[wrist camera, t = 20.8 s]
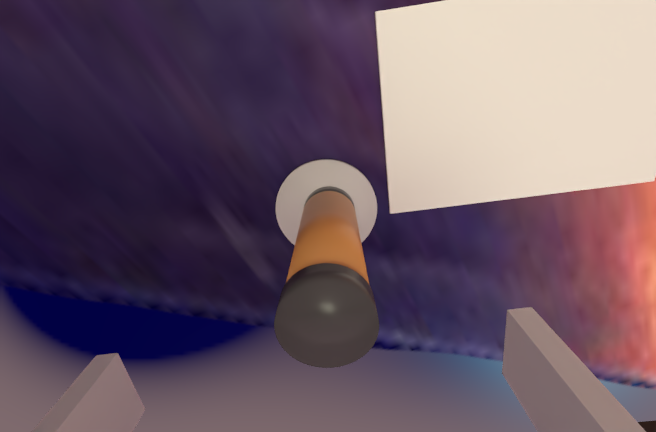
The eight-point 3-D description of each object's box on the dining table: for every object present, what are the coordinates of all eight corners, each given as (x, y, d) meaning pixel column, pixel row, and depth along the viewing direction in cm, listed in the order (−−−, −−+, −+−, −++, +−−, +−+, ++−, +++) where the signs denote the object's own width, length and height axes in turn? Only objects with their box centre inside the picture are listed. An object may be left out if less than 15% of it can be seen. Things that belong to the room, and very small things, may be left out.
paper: (389, 212, 26) (390, 213, 26) (374, 12, 21) (375, 11, 21) (649, 179, 25) (654, 181, 25) (698, -39, 20) (705, -42, 20)
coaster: (286, 257, 28) (285, 261, 27) (267, 166, 25) (266, 167, 24) (380, 246, 27) (381, 249, 27) (371, 152, 25) (372, 153, 24)
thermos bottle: (306, 237, 27) (283, 371, 14) (298, 188, 25) (265, 288, 12) (358, 232, 26) (382, 363, 14) (353, 182, 25) (375, 277, 12)
